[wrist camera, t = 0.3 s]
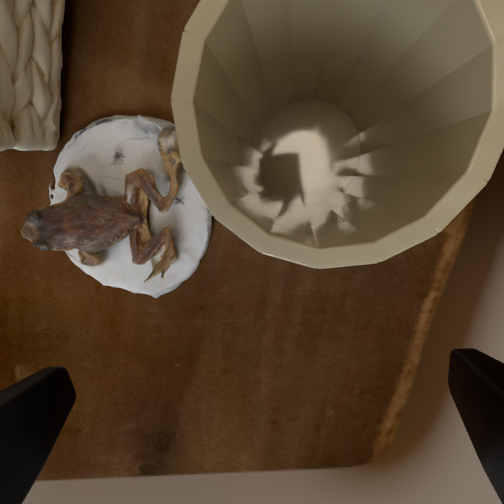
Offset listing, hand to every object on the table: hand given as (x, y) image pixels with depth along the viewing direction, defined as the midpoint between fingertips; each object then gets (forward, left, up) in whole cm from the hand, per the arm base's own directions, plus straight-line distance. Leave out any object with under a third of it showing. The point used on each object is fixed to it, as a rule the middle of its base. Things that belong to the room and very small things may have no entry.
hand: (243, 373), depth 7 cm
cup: (+6, -3, -14) cm, 15 cm away
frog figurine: (+3, +9, -14) cm, 17 cm away
